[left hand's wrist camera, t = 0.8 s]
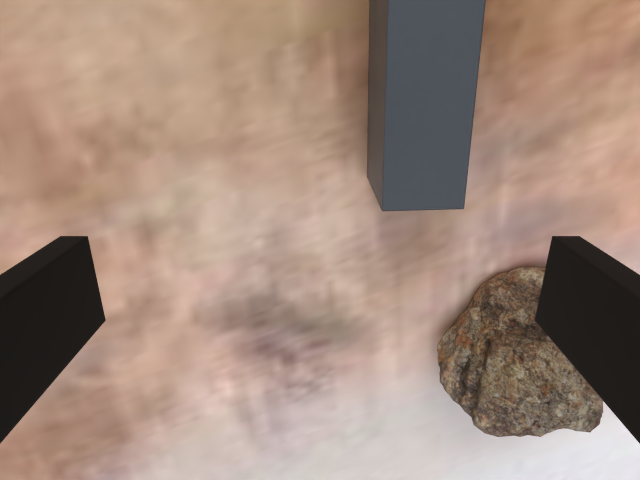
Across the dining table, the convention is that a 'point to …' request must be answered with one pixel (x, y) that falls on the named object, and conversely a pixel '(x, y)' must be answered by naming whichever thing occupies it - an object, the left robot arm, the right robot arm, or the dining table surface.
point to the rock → (513, 364)
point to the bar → (422, 100)
